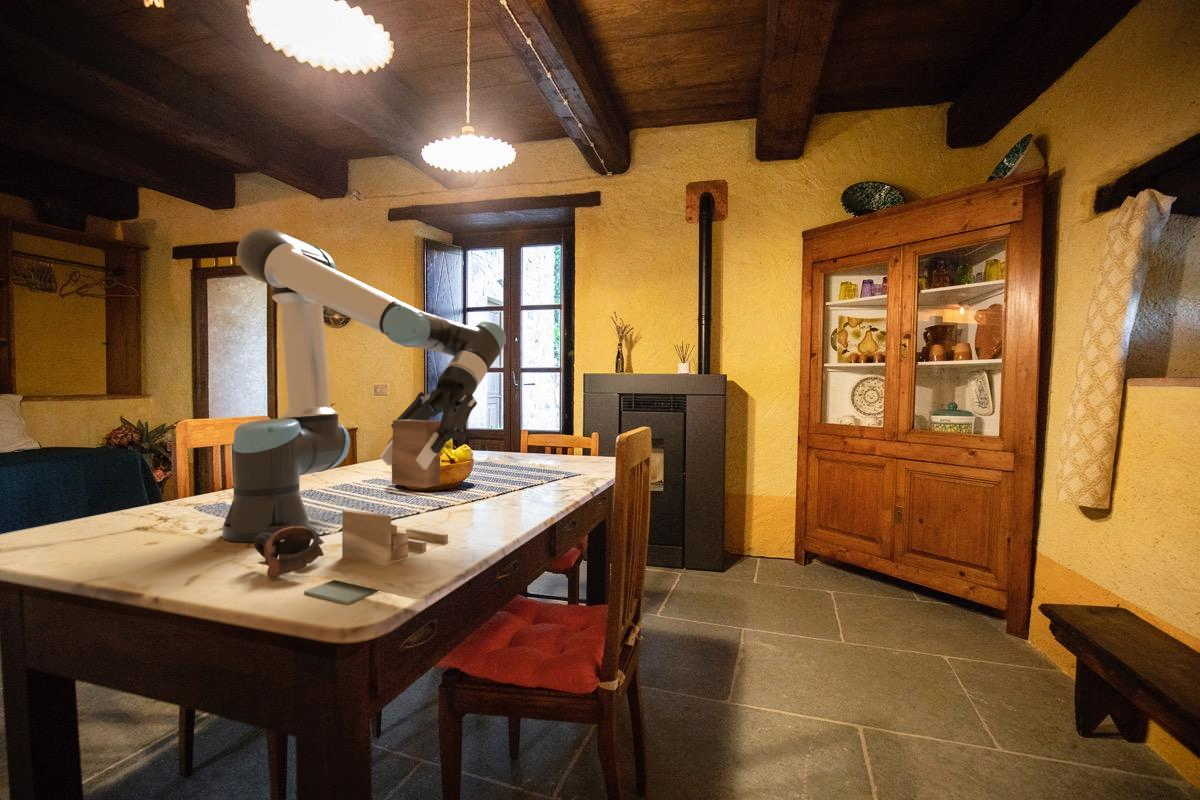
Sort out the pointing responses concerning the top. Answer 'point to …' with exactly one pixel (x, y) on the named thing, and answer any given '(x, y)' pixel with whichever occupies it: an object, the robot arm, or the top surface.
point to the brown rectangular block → (413, 453)
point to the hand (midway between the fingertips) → (402, 462)
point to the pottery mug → (288, 549)
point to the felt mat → (340, 591)
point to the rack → (383, 539)
